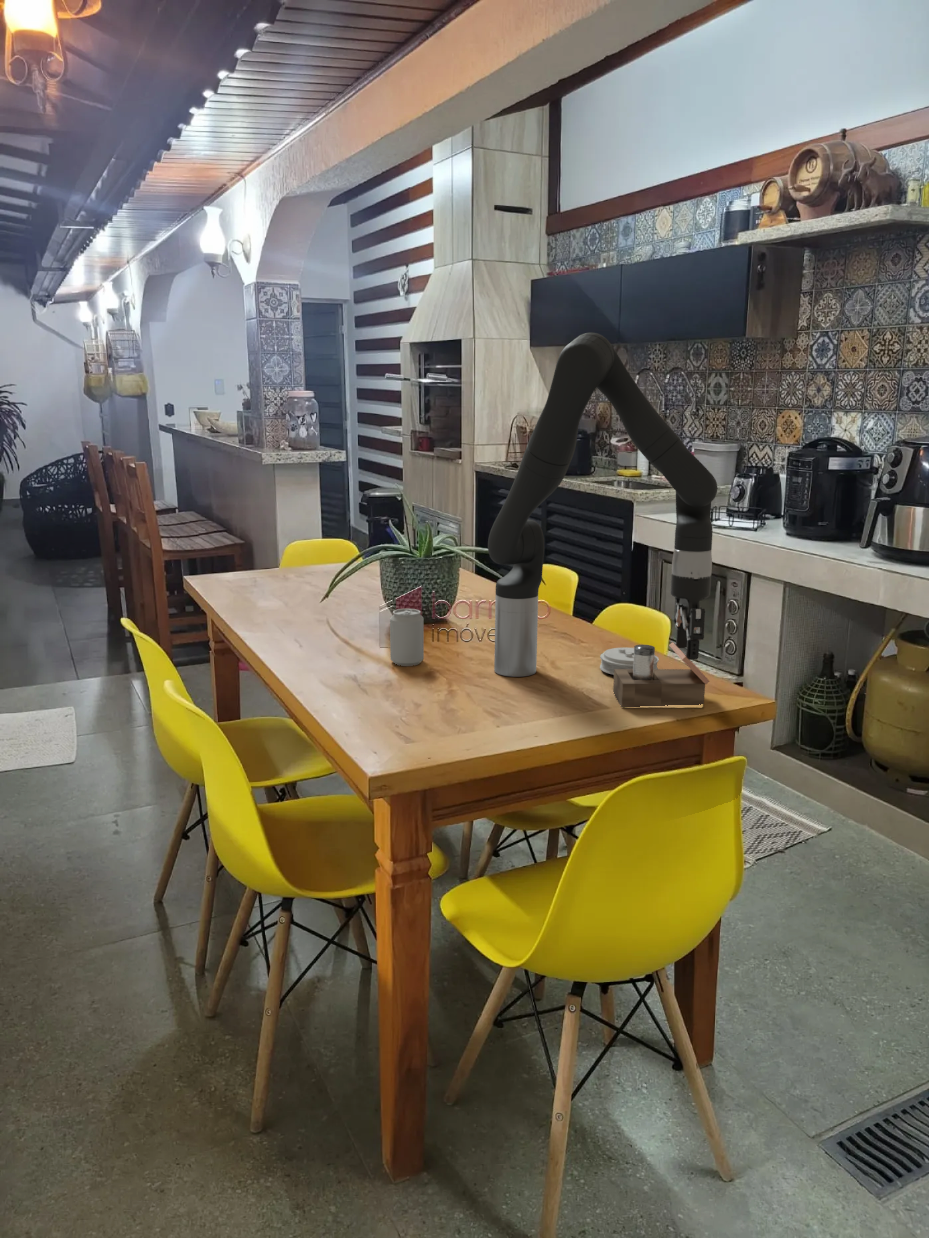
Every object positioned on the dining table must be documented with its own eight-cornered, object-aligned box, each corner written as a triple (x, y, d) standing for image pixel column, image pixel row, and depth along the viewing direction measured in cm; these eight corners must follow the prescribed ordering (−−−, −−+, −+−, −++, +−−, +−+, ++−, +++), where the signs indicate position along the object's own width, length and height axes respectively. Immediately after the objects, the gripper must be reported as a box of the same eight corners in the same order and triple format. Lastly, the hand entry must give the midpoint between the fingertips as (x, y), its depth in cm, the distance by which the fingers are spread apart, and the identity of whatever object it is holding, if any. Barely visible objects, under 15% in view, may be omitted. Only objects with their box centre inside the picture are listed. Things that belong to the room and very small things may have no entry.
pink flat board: (668, 645, 195) (672, 641, 195) (691, 668, 196) (695, 665, 196) (681, 659, 184) (685, 656, 184) (705, 684, 186) (709, 681, 186)
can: (385, 665, 215) (384, 612, 212) (398, 656, 222) (398, 606, 219) (415, 668, 213) (415, 615, 210) (428, 659, 219) (428, 608, 217)
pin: (629, 697, 194) (632, 644, 191) (649, 697, 194) (652, 644, 191) (633, 703, 190) (636, 649, 187) (653, 703, 190) (656, 649, 188)
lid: (669, 673, 212) (670, 651, 210) (635, 684, 203) (637, 662, 202) (621, 661, 220) (622, 640, 219) (588, 672, 211) (588, 650, 210)
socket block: (613, 692, 197) (614, 669, 196) (690, 692, 197) (692, 669, 196) (621, 708, 187) (622, 683, 186) (703, 708, 187) (705, 683, 186)
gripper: (664, 566, 193) (660, 644, 196) (680, 579, 179) (676, 663, 183) (701, 566, 193) (696, 644, 197) (720, 579, 179) (715, 663, 183)
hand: (686, 653), depth 190 cm, fingers open, 8 cm apart
